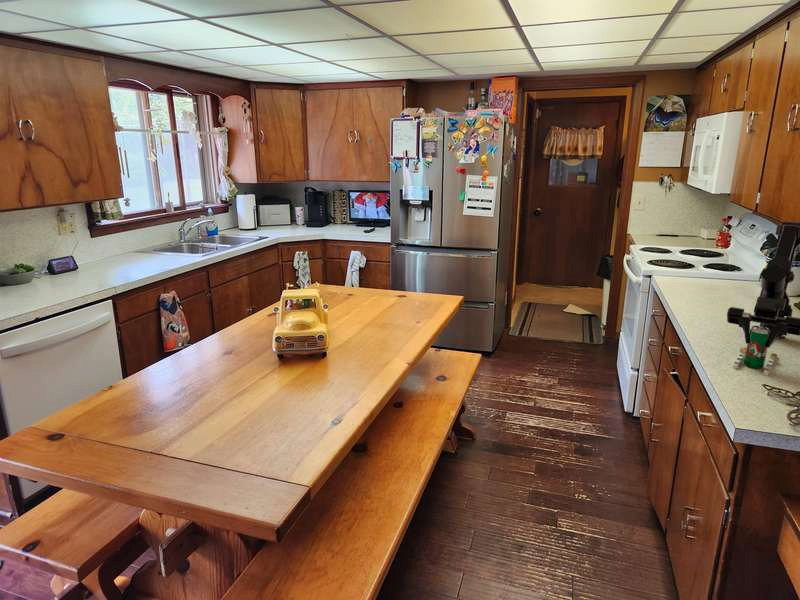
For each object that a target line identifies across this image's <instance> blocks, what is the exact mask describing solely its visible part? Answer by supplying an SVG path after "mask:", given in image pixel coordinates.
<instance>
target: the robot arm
mask: <svg viewBox="0 0 800 600" xmlns="http://www.w3.org/2000/svg"><path fill="white" fill-rule="evenodd" d="M775 229H776V231H775V236H777V237H776V238H777V242H778V243H777V247H776V250H775V253H774V256H773V258H772V259H769V260H768V261H767V264H766V267H763V268H762V270H761V272H760V273H759V279H760V281H761V282H760V288H761V290H760V293H759V296H757V299H756V303H755V305H754V309H753V313H754V314H751V313H750V312H745V308H740V307H734V306H730V307H729V308H728V310H727V313H726V321H727V323H729V324H733V325H738V327H739V328H742V331H743V333H744V341H745V344H747V343H748V339H749V333H750V329H751V322H752V323H758V324H759V326H763V327H767V328H769V329H770V330H769V331H770V333H771V334H770V339H769V342H768V345H767V348H768V349H770V348H771V346H772V345H773V344H774V343H775V342H776V341H777V340H778V339H786V336H787V335H794V336H800V317H795V316H793V310H794V309H793V308H792V305H791V304H790V303H791V302H790V301H791V299H790V296H789V295H788V293H787V290H788V286H789V284H791V283H792V282H794V280H795V278H796V277H795V276H796V275H795V273H794V271H792V269H793V268H792V267H793V265H794V260H795V254H796V250H797V248H798V247H800V222H799V221H788V220H783V221H782V223H777V225H776V228H775Z"/></svg>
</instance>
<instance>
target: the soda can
mask: <svg viewBox="0 0 800 600" xmlns="http://www.w3.org/2000/svg"><path fill="white" fill-rule="evenodd" d="M769 330H770V329H769V328H767V327H763V326H760V325H752V326H751V327H750V332H749V339H748V343H747V345H746V347H747V348H746V353H745V357H744V358H743V363H744V365H745V366H746V367H748V368H751V369H758V370H759V369H763V368H764V366H765V364H766V363H765V362H766V358H767V357H766V356H767V354H768V353H767V352H768V349H769V348H767V345H768V342H769V339H770V334H771V333H770V331H769Z"/></svg>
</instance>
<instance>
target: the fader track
mask: <svg viewBox="0 0 800 600" xmlns="http://www.w3.org/2000/svg"><path fill="white" fill-rule="evenodd" d="M743 348H745V349H746V348H747V345H746V346H744V347H743ZM771 354H775V355H777V354H778V352H775V351H773V352H772V353H771ZM777 356H778V355H777ZM744 358H745V353H740V354H738V356H737V358H736V360H735V361H734V363H733V365H732V366H733V367H732V369H735V370H737V369H738V367H740V364H741V363H742V361H744ZM774 362H775V360H774V359H770V358H769V360H768V362H767V363H766V365H765V368H764V370H763V373H762V375H763V376H766V377H768V375H769V373H770V371H771V369H772V367H773V364H774Z"/></svg>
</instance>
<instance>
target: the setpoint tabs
mask: <svg viewBox="0 0 800 600" xmlns="http://www.w3.org/2000/svg"><path fill="white" fill-rule="evenodd" d="M739 353H740V354H741V353H746V349H745V348H744V347H740V349H739ZM770 359H774V361H777V359H778V355H775V354H772V353H771V355H770V358H769V360H770Z"/></svg>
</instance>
